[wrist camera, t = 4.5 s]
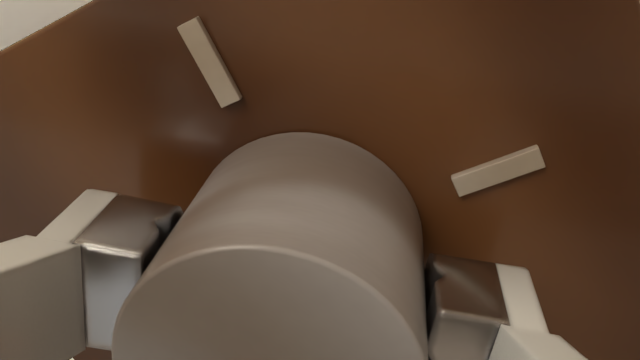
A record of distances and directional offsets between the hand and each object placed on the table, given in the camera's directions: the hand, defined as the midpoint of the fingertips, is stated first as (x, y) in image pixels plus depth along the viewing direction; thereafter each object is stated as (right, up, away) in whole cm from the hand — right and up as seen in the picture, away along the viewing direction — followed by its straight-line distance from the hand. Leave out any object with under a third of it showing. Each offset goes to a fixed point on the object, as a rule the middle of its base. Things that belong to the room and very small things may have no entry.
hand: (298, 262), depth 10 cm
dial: (0, 0, +1) cm, 1 cm away
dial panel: (0, +2, +3) cm, 4 cm away
